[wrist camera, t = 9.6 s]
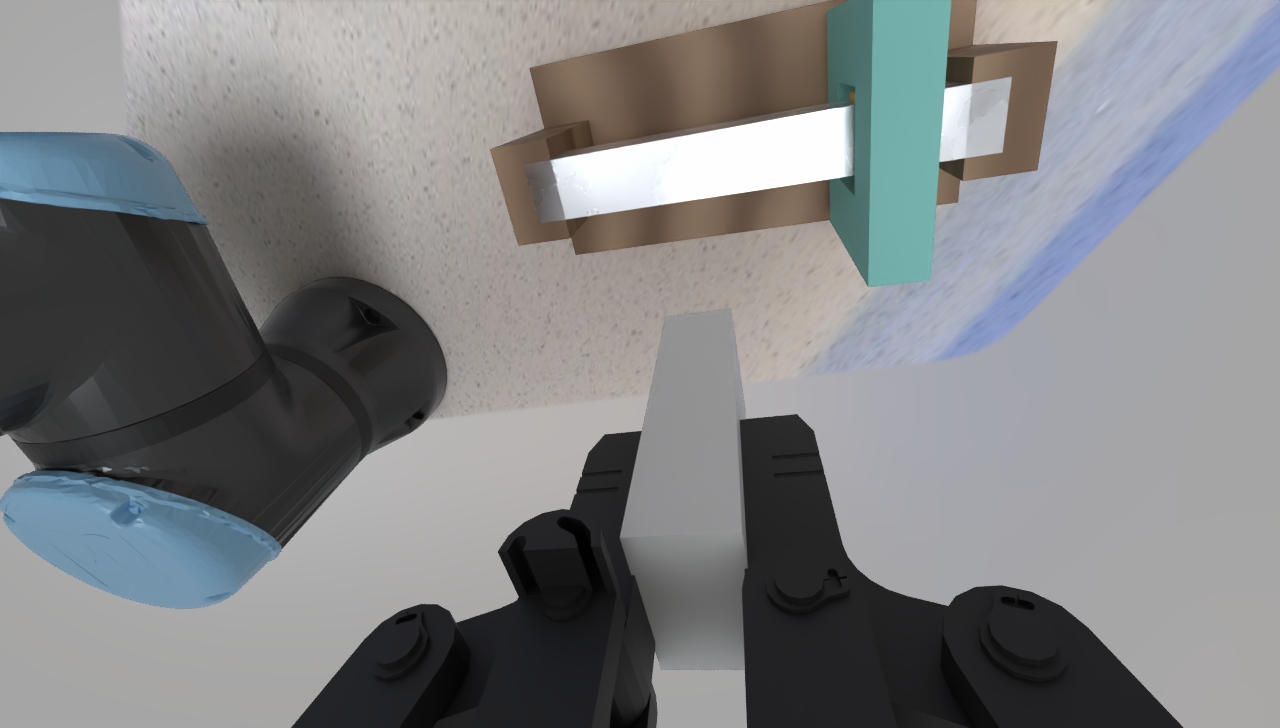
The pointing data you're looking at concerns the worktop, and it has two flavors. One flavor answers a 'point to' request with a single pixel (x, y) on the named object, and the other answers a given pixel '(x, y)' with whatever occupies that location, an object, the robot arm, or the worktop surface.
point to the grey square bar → (747, 155)
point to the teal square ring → (889, 131)
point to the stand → (731, 90)
